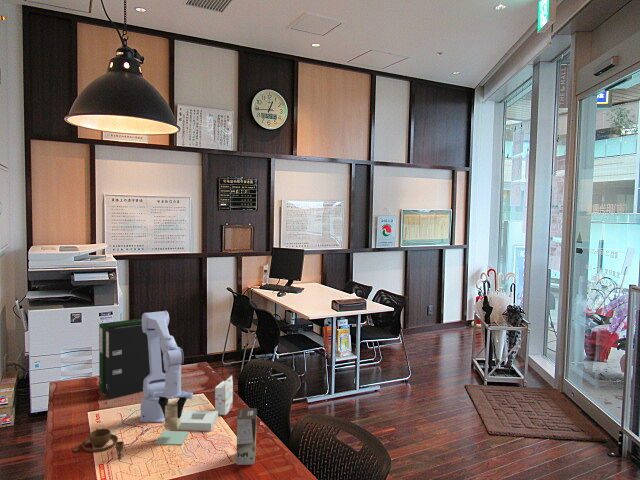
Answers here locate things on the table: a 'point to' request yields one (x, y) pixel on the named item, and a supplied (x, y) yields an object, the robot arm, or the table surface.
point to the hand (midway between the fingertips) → (172, 416)
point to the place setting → (102, 441)
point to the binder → (123, 358)
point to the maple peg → (172, 416)
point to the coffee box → (246, 436)
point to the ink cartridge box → (224, 397)
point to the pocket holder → (198, 420)
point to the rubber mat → (172, 438)
